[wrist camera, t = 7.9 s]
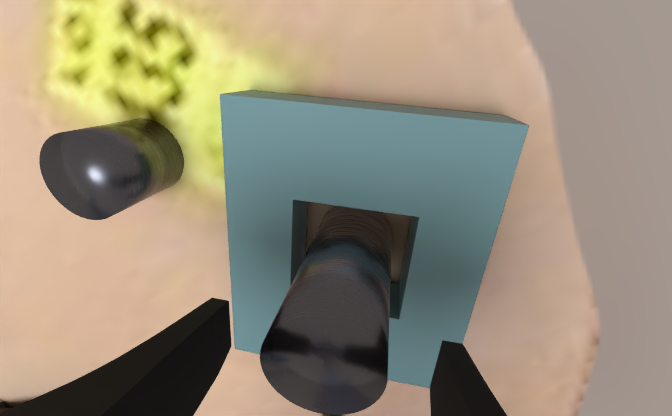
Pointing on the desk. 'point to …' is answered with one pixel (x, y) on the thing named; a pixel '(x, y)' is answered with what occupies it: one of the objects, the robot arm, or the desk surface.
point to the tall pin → (335, 318)
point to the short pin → (110, 166)
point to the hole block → (366, 205)
